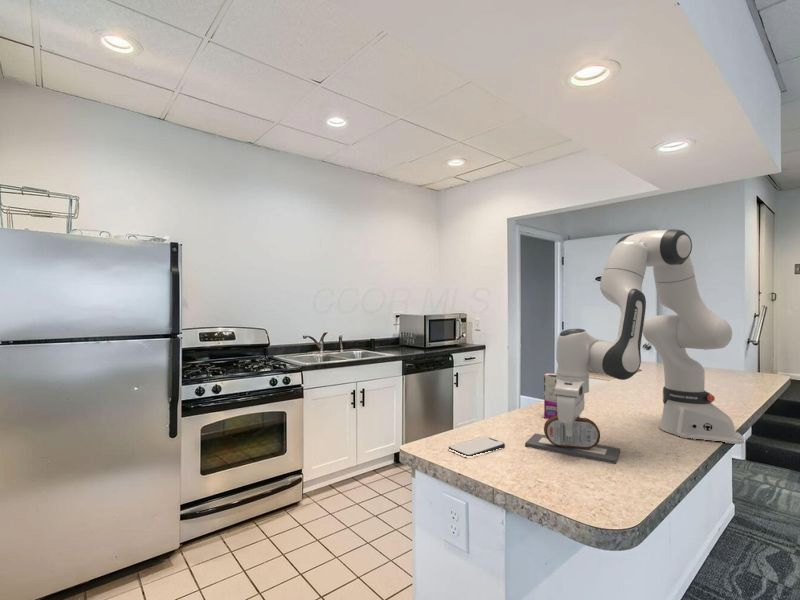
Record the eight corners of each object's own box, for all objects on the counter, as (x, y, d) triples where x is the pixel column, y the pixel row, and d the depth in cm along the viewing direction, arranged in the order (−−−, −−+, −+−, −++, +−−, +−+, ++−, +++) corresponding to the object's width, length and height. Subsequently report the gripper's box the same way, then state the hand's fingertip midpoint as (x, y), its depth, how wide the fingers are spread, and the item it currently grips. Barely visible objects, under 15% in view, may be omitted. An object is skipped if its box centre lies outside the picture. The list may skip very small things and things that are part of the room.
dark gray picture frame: (620, 452, 117) (620, 448, 117) (616, 464, 108) (616, 460, 108) (535, 436, 130) (535, 433, 130) (525, 446, 121) (525, 442, 121)
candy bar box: (576, 418, 152) (576, 374, 152) (576, 422, 147) (576, 376, 147) (544, 415, 156) (544, 372, 156) (543, 418, 151) (544, 374, 151)
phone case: (468, 462, 111) (507, 448, 120) (468, 456, 111) (507, 443, 120) (446, 452, 118) (484, 440, 127) (446, 446, 118) (484, 435, 127)
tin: (599, 448, 117) (598, 418, 118) (601, 451, 114) (601, 420, 115) (543, 443, 121) (543, 414, 122) (544, 445, 118) (544, 415, 119)
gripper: (568, 378, 130) (568, 421, 130) (553, 389, 113) (552, 439, 113) (589, 380, 126) (589, 424, 126) (577, 392, 109) (577, 443, 109)
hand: (572, 431), depth 119 cm, fingers open, 7 cm apart
